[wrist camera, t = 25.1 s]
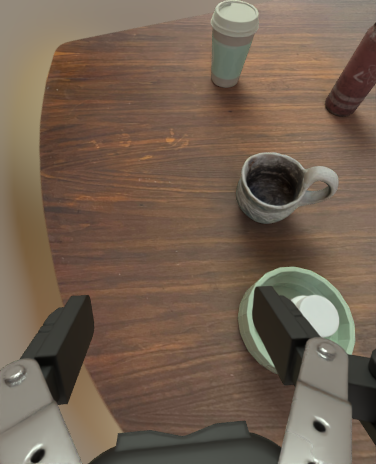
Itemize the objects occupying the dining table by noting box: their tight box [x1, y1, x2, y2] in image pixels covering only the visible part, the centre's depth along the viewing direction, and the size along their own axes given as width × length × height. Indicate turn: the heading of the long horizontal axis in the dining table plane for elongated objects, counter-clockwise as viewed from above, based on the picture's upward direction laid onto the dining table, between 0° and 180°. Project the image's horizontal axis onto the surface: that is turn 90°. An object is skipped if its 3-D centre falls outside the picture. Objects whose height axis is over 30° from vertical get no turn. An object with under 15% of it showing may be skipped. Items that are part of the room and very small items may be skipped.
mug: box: [236, 153, 338, 223], centre depth 36 cm, size 10×12×10 cm
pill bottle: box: [290, 295, 339, 338], centre depth 28 cm, size 5×5×8 cm
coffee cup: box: [211, 0, 259, 87], centre depth 48 cm, size 9×8×12 cm
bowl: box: [238, 267, 355, 374], centre depth 30 cm, size 12×12×5 cm
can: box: [325, 23, 376, 117], centre depth 45 cm, size 6×6×14 cm
